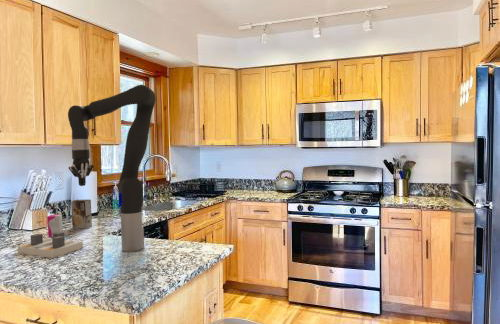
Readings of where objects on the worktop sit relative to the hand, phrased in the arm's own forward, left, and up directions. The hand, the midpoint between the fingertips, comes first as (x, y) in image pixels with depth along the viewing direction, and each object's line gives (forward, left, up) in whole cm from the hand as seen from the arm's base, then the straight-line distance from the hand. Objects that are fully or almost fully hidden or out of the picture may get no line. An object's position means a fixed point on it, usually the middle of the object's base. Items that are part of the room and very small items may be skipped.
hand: (82, 185), depth 171 cm
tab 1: (+12, -17, -27) cm, 34 cm away
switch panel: (+10, -10, -29) cm, 32 cm away
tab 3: (+12, -3, -27) cm, 30 cm away
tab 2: (+5, -10, -27) cm, 29 cm away
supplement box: (-9, -30, -29) cm, 43 cm away
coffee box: (-30, -34, -29) cm, 54 cm away
